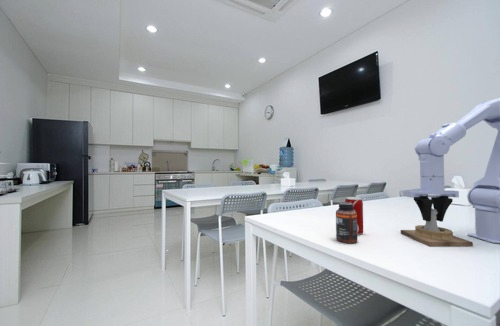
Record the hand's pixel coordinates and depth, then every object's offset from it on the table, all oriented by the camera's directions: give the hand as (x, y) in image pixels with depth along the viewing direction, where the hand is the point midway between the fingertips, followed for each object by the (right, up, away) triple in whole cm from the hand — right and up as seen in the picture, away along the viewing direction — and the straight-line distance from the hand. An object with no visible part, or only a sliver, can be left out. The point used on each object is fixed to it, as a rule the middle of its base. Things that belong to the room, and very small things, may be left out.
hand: (432, 220), depth 68 cm
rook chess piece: (0, -5, 0) cm, 5 cm away
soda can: (-21, -6, +7) cm, 23 cm away
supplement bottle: (-27, -6, -1) cm, 28 cm away
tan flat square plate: (0, -6, 0) cm, 6 cm away
